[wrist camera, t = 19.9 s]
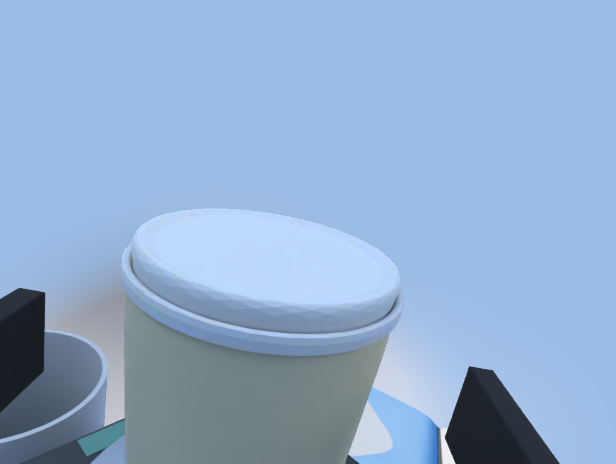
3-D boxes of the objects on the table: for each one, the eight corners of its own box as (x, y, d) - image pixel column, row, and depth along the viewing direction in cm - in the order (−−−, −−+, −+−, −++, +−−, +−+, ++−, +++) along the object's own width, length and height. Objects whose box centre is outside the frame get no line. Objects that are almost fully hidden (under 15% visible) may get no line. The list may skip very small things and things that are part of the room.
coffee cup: (370, 501, 19) (441, 262, 16) (235, 743, 11) (322, 360, 8) (222, 402, 23) (254, 199, 20) (49, 524, 15) (55, 220, 12)
